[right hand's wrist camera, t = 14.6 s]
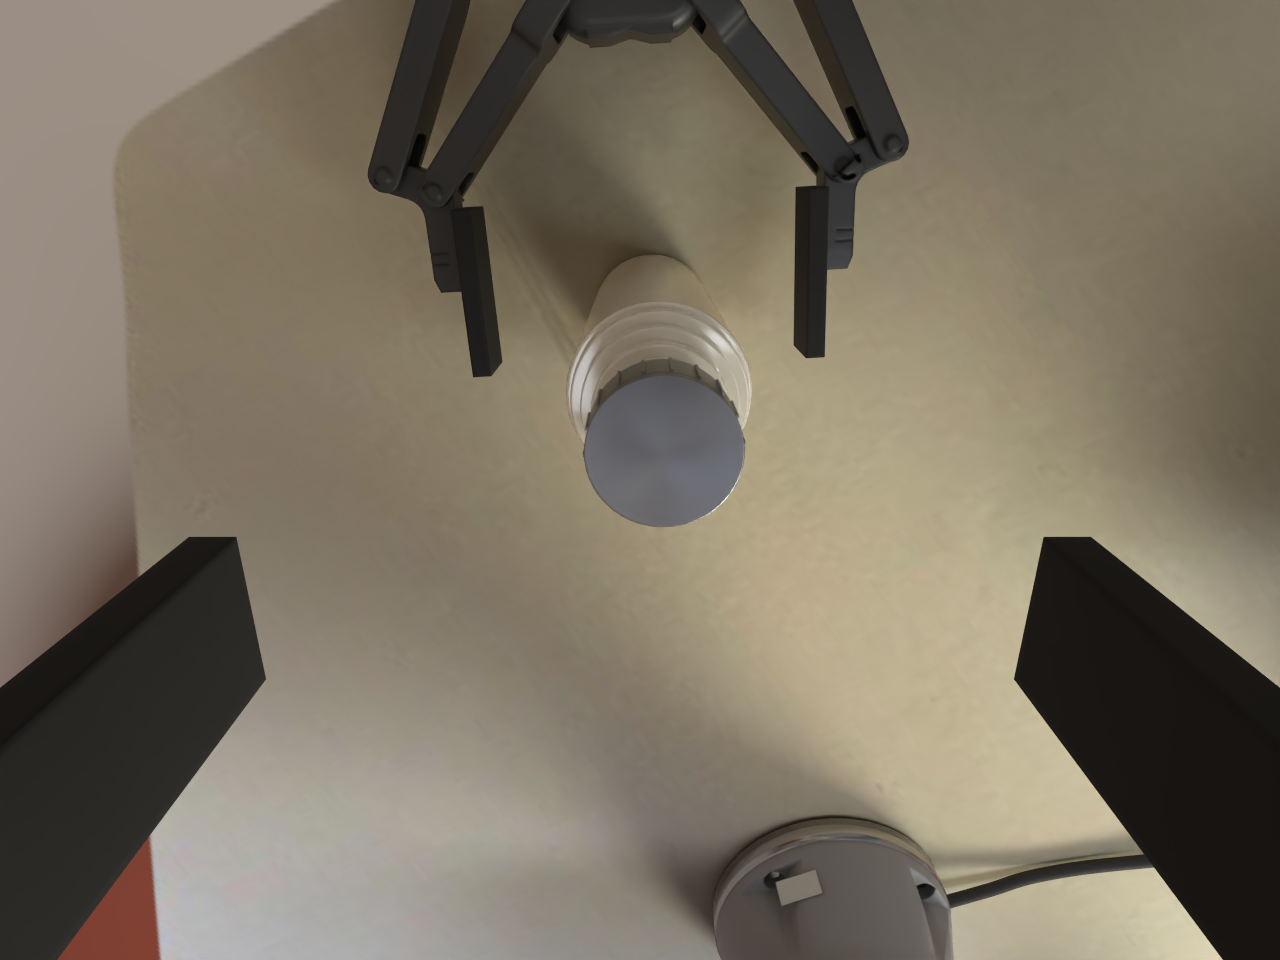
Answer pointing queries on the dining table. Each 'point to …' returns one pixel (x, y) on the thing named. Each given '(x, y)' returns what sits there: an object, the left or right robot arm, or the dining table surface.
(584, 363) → the bottle
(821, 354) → the left robot arm
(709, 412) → the cap
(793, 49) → the dining table surface
